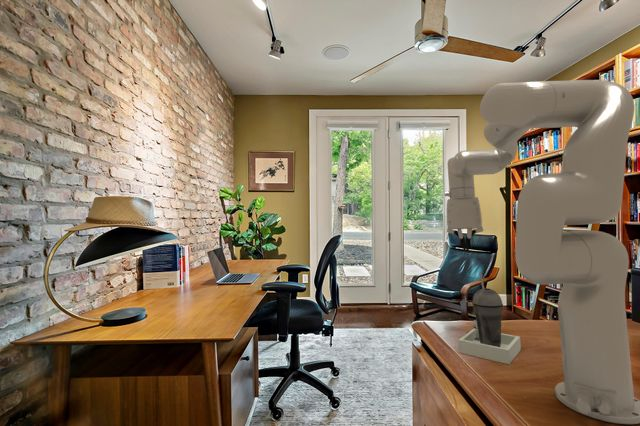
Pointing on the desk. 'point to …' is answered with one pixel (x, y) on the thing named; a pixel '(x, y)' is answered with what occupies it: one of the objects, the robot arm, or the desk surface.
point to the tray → (490, 347)
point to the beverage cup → (488, 315)
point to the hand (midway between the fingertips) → (466, 250)
